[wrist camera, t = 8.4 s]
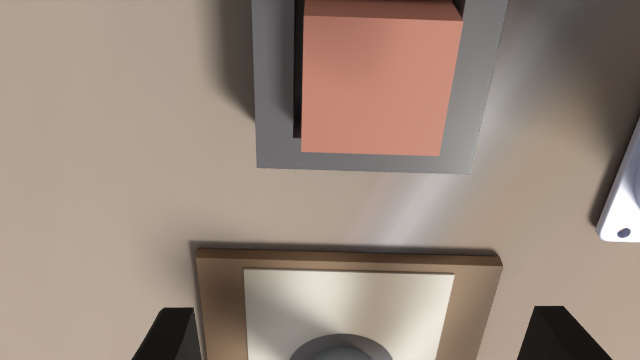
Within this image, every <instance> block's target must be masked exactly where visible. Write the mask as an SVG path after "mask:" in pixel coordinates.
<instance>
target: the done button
mask: <svg viewBox="0 0 640 360" xmlns="http://www.w3.org/2000/svg"><path fill="white" fill-rule="evenodd" d="M462 27H463V20H462V18H461V16H460V14H459V13H458V11H457V9H456V8H455V6H454V4H453V2H452V1H451V0H305V6H304V30H303V81H302V132H301V152H320V153H353V154H385V155H417V156H439V154H440V149H441V143H442V138H443V132H444V127H445V121H446V115H447V110H448V104H449V99H450V93H451V88H452V82H453V77H454V71H455V66H456V60H457V55H458V49H459V43H460V38H461V32H462Z"/></svg>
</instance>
